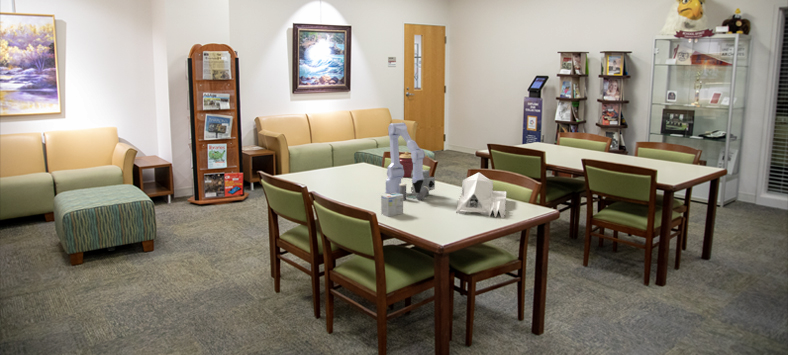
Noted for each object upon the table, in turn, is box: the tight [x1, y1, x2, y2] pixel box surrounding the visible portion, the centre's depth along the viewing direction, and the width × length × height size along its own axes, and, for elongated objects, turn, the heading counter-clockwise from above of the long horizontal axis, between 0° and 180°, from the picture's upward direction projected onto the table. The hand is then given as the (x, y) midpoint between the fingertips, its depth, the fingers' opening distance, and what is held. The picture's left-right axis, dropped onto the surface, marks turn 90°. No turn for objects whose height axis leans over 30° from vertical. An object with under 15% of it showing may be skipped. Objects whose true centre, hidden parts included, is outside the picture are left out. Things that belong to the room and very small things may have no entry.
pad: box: [406, 194, 417, 199], centre depth 347 cm, size 9×5×1 cm, turn 67°
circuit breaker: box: [410, 169, 436, 196], centre depth 351 cm, size 8×14×15 cm, turn 48°
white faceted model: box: [456, 172, 507, 219], centre depth 322 cm, size 41×27×17 cm, turn 168°
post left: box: [399, 182, 407, 201], centre depth 340 cm, size 4×4×9 cm
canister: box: [399, 151, 413, 178], centre depth 409 cm, size 13×13×18 cm
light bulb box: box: [380, 193, 404, 218], centre depth 308 cm, size 11×7×11 cm, turn 128°
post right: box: [415, 186, 430, 201], centre depth 342 cm, size 4×4×9 cm
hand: (417, 192), depth 339 cm, fingers closed
